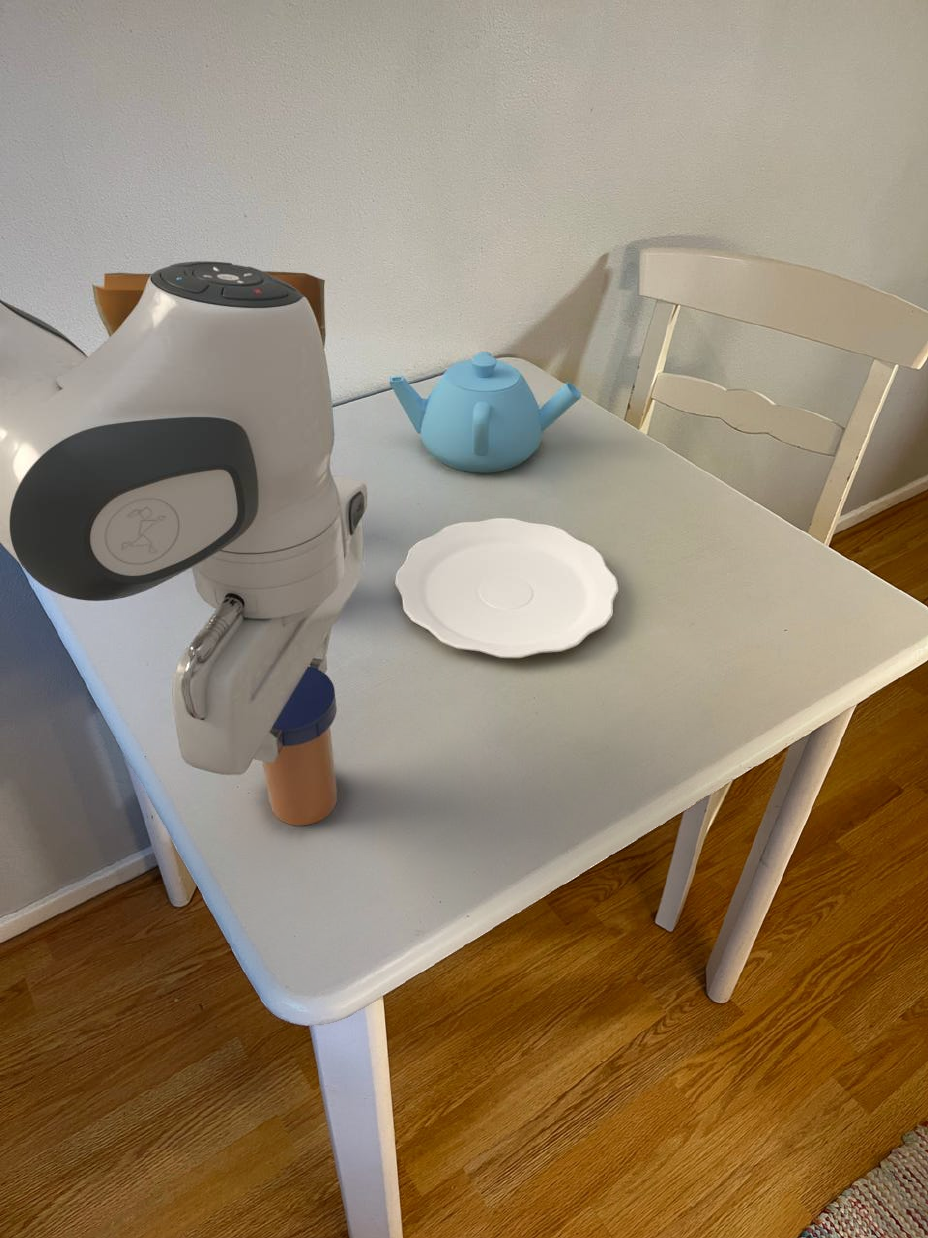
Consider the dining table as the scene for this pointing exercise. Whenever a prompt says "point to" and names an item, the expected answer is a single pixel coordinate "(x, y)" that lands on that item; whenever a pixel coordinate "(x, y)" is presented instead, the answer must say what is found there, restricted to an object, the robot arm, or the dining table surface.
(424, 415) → the teapot
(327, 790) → the jar
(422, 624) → the plate
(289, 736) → the jar lid
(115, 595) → the robot arm
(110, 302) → the pancake mix bag
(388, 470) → the dining table surface
